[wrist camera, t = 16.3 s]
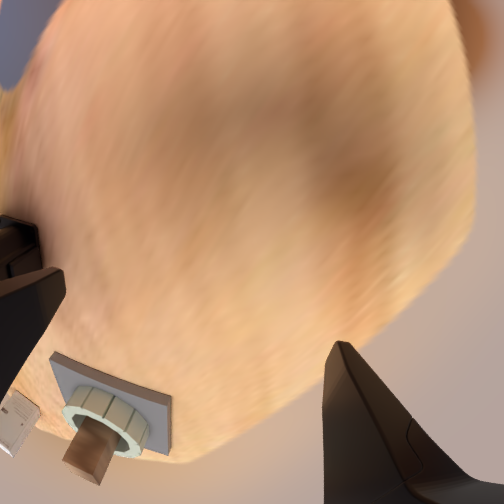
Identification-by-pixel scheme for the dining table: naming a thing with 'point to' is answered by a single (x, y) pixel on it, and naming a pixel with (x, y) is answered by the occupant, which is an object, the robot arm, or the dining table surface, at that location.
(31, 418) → the skincare box
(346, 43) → the dining table surface
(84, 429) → the walnut peg
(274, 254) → the dining table surface
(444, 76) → the dining table surface
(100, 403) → the collar holder
